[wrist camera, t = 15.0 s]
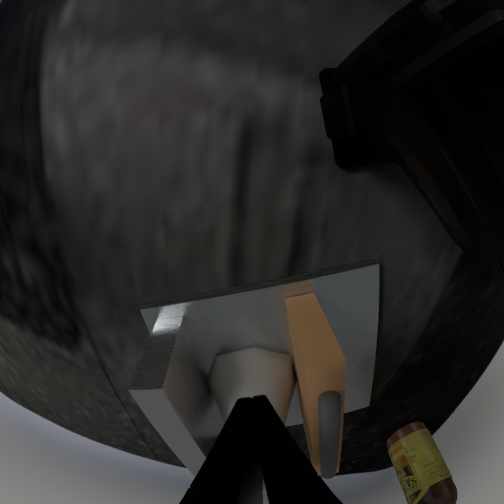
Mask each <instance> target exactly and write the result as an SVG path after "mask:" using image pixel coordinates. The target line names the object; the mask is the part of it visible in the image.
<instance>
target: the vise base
mask: <svg viewBox="0 0 504 504" xmlns="http://www.w3.org/2000/svg"><path fill="white" fill-rule="evenodd" d="M310 293H314V294H315V296H316V298H317V300H318V302H319V304H320V306H321V308H322V310H323V312H324V314H325V316H326V319H327V321H328V323H329V325H330V327H331V329H332V331H333V333H334V335H335V338H336V340H337V342H338V344H339V346H340V348H341V350H342V353H343V355H344V357H345V359H346V376H345V402H344V413H347V412H351V411H354V410H358V409H361V408H364V407H368V406H369V404H370V397H371V390H372V382H373V374H374V366H375V356H376V344H377V331H378V313H379V263H378V262H377V261H376V260H375V259H369V260H365V261H360V262H356V263H351V264H347V265H342V266H337V267H333V268H328V269H323V270H319V271H314V272H309V273H304V274H299V275H295V276H290V277H285V278H280V279H275V280H269V281H264V282H259V283H254V284H249V285H243V286H238V287H233V288H227V289H222V290H216V291H211V292H205V293H199V294H193V295H188V296H182V297H176V298H170V299H164V300H158V301H151V302H145V303H143V305H142V307H141V309H140V311H141V313H142V316H143V318H144V320H145V323H146V325H147V327H148V330H149V332H150V334H151V335H150V338H149V340H148V342H147V345H146V347H145V350H144V352H143V355H142V357H141V360H140V362H139V365H138V367H137V370H136V372H135V375H134V377H133V380H132V382H131V385H130V388H129V391H130V393H131V395H132V396H133V398H134V399H135V401H136V402H137V404H138V405H139V407H140V408H141V409H142V411H143V412H144V414H145V415H146V417H147V418H148V419H149V421H150V422H151V424H152V425H153V426H154V428H155V429H156V430H157V432H158V433H159V434H160V436H161V437H162V438H163V439H164V441H165V442H166V443H167V444H168V446H169V447H170V448H171V449H172V451H173V452H174V453H175V454H176V455H177V457H178V458H179V459H180V460H181V461H182V463H183V464H184V465H185V466H186V467H187V468H188V469H189V471H190V472H191V473H192V474H193V475H194V476H195V477H196V475H197V473H198V471H199V470H200V468H201V466H202V464H203V462H204V461H205V459H206V457H207V455H208V453H209V452H210V450H211V448H212V446H213V444H214V442H215V441H216V439H217V437H218V435H219V433H220V431H221V429H222V428H223V426H224V424H225V423H224V421H223V418H222V416H221V413H220V411H219V408H218V406H217V404H216V401H215V399H214V397H213V394H212V392H211V390H210V387H209V384H208V381H207V379H208V376H209V374H210V371H211V369H212V366H213V364H214V362H215V359H216V357H217V356H218V355H222V354H227V353H231V352H235V351H239V350H244V349H248V348H252V347H256V348H260V349H265V350H269V351H273V352H277V353H282V354H286V355H290V357H291V361H292V364H293V367H294V371H295V374H296V369H295V362H294V355H293V348H292V342H291V335H290V329H289V322H288V316H287V309H286V303H285V299H286V298H290V297H295V296H300V295H305V294H310ZM296 377H297V376H296ZM302 423H303V420H302V412H301V405H300V398H299V390H298V383H297V382H296V386H295V390H294V394H293V397H292V400H291V404H290V407H289V410H288V414H287V418H286V422H285V426H286V427H287V426H292V425H297V424H302Z"/></svg>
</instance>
